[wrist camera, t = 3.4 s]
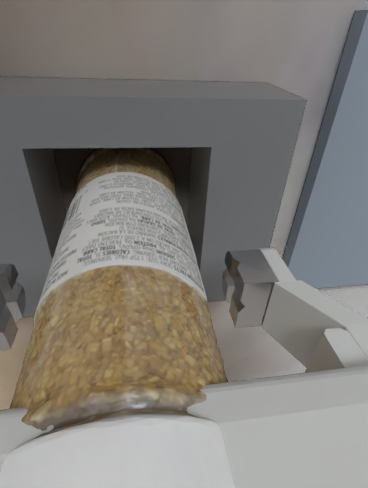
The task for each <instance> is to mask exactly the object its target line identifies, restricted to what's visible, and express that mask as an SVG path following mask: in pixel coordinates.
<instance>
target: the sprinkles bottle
mask: <svg viewBox="0 0 368 488" xmlns="http://www.w3.org/2000/svg"><path fill="white" fill-rule="evenodd" d="M76 185H77V192H76V195H75V197H74V198H73V200H72V202H71V204H70V206H69V209H68V212H67V215H66V218H65V221H64V224H63V228H62V231H61V234H60V237H59V240H58V244H57V247H56V250H55V253H54V257H53V260H52V263H51V266H50V270H49V273H48V276H47V279H46V282H45V285H44V288H43V291H42V294H41V297H40V300H39V303H38V306H37V309H36V313H35V317H34V329H33V332H32V336H31V341H30V345H29V347H28V349H27V351H26V354H25V358H24V361H23V367H22V370H21V373H20V376H19V379H18V382H17V385H16V390H15V393H14V397H13V400H12V403H11V406H10V409H12V408H20V407H26V408H27V409H28V411H27V413H26V414H25V415H24V417H23V418H22V420H21V421H22V422H23V423H25V424H26V425H30V426H33V427H35V428H36V429H41V431H44V430H47V427H49V426H50V425H54V427H53V429H52V430H51V431H50V432H46V433H42V434H40V435H39V436H37V437H35V438H33V439H31V440H29V441H27V442H25V443H23V444H21V445H20V446H18V447H16V448H15V449H13V450H11V451H10V452H8V454H7V455H6V457H5V460H4V463H3V466H2V469H1V472H0V488H235V485H234V481H233V477H232V473H231V469H230V465H229V461H228V457H227V453H226V449H225V444H224V440H223V436H222V432H221V429H220V426H219V424H218V423H217V422H216V421H213V420H210V419H205V418H200V417H196V416H194V415H191V414H189V413H188V412H187V407H189V406H192V405H194V404H198V403H202V402H204V401H206V394H204V393H203V392H202V391H200V389H201V388H203V387H205V386H206V385H210V384H218V383H226V382H228V380H227V378H226V375H225V371H224V366H223V360H222V358H221V355H220V350H219V347H218V346H217V341H216V337H215V333H214V330H213V325H212V320H211V315H210V312H209V309H208V307H207V297H206V293H205V289H204V286H203V282H202V279H201V275H200V271H199V268H198V265H197V259H196V255H195V252H194V248H193V245H192V242H191V238H190V235H189V232H188V228H187V225H186V221H185V218H184V215H183V211H182V209H181V206H180V204H179V202H178V200H177V197H176V189H175V182H174V178H173V175H172V172H171V170H170V169H169V167H168V166H167V164H166V163H165V161H164V160H163V159H162V157H161V156H160V155H158V154H157V153H155V152H153V151H152V150H151V149H149V148H100V149H98V150H97V151H95V152H94V153H92V154H91V155H90V156H89V157H88V158H87V159H86V161H85V162H84V164H83V166H82V167H81V169H80V172H79V174H78V177H77V182H76Z"/></svg>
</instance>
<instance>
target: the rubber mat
mask: <svg viewBox="0 0 368 488" xmlns="http://www.w3.org/2000/svg"><path fill="white" fill-rule="evenodd" d="M283 261H284V263H285V264H286V266H287V267H288V269H289V270H290V272H291V273H292V275H293V276H294V278H295V279H296V281H299V280H301V281H303V282H305V283H307V284H308V285H310V286H312V287H314V288H328V287H340V286H353V285H365V284H368V10H360V11H355V13H354V16H353V20H352V23H351V27H350V30H349V34H348V37H347V40H346V44H345V47H344V51H343V54H342V58H341V61H340V64H339V68H338V71H337V75H336V78H335V82H334V85H333V88H332V92H331V95H330V99H329V102H328V106H327V109H326V112H325V116H324V119H323V123H322V126H321V129H320V133H319V136H318V140H317V143H316V147H315V150H314V153H313V157H312V160H311V164H310V167H309V171H308V174H307V177H306V181H305V184H304V188H303V191H302V195H301V198H300V201H299V205H298V208H297V212H296V215H295V219H294V222H293V225H292V229H291V232H290V236H289V239H288V243H287V246H286V249H285V253H284V256H283Z"/></svg>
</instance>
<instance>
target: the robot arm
mask: <svg viewBox="0 0 368 488" xmlns="http://www.w3.org/2000/svg"><path fill="white" fill-rule="evenodd" d="M225 264H226V266H227V268H226V269H225V270H224V271H223V275H222V289H223V294H224V297H225V300H226V301H227V302H228V303H230V310H229V312H230V314H231V317H232V320H233V323H234V325H235V328H238V327H252V326H262V328H263V329H264V330H265V331H267V332H268V333H269V334H270V335H271V336H272V337H273V338H274V339H275V340H276V341H278V342H279V343H280V344H281V345H282V346H283V347H284V348H285V349H286V350H288V351H289V352H290V353H291V354H292V355H293V356H294V357H295V358H296V359H297V360H299V361H300V362H301V363H302V364H303V365H304V366H305V367H306V368H307V369H306V371H305V373H299V374H291V375H283V376H275V377H267V378H258V379H250V380H242V381H234V382H226V383H218V384H210V385H206V386H205V387H203V388H201V389H200V391H202V392H203V393H204V394H206V401H204V402H202V403H198V404H194V405H192V406H189V407H187V412H188V413H189V414H191V415H194V416H196V417H200V418H205V419H210V420H213V421H216V422H217V423H218V424H219V426H220V429H221V432H222V436H223V440H224V444H225V449H226V453H227V457H228V461H229V465H230V469H231V473H232V477H233V481H234V485H235V488H368V318H367V317H365V316H364V315H362V314H360V313H358V312H356V311H355V310H353V309H351V308H349V307H348V306H346V305H344V304H342V303H340V302H339V301H337V300H335V299H333V298H332V297H330V296H328V295H326V294H324V293H323V292H321V291H319V290H317V289H316V288H314V287H312V286H310V285H308V284H307V283H305V282H303V281H301V280H299V281H296V279H295V278H294V276H293V275H292V273H291V272H290V270H289V269H288V267H287V266H286V264H285V263H284V261H283V260H282V258H281V257H280V255H279V254H278V252H277V251H276V249H275V248H273V247H271V248H260V249H253V250H237V251H227V253H226V255H225ZM17 276H18V272H17V270H16V267H15V265H13V264H0V350H8V349H11V347H12V344H13V342H14V339H15V336H16V333H17V331H18V328H17V326H16V324H15V323H16V322H17V321H18V320H19V319H21V318H22V317H23V314H24V311H25V304H26V297H25V291H24V288H23V286H22V285H21V284H19V283H18V282H16V279H17ZM27 411H28V409H27V408H26V407H20V408H12V409H4V410H0V472H1V469H2V466H3V463H4V460H5V457H6V455H7V454H8V452H10V451H11V450H13V449H15V448H16V447H18V446H20V445H21V444H23V443H25V442H27V441H29V440H31V439H33V438H35V437H37V436H39V435H40V434H42V433H46V432H50V431H51V430H52V429H53V427H54V425H50V426H49V427H47V430H44V431H41V429H36V428H35V427H33V426H30V425H26V424H25V423H23V422H22V421H21V420H22V418H23V417H24V415H25V414H26V413H27Z"/></svg>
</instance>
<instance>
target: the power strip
mask: <svg viewBox="0 0 368 488" xmlns="http://www.w3.org/2000/svg"><path fill="white" fill-rule="evenodd" d="M306 101H307V100H306V99H304V98H301V97H299V96H297V95H294V94H292V93H290V92H288V91H285V90H283V89H281V88H278V87H276V86H274V85H271V84H269V83H261V82H218V81H174V80H131V79H88V78H45V77H2V76H0V264H13V265H15V267H16V270H17V272H18V276H17V279H16V282H18V283H19V284H21V285H22V286H23V288H24V291H25V297H26V304H25V311H24V314H23V317H32V316H35V313H36V309H37V306H38V303H39V300H40V297H41V294H42V291H43V288H44V285H45V282H46V279H47V276H48V273H49V270H50V266H51V263H52V260H53V257H54V253H55V250H56V247H57V244H58V240H59V237H60V234H61V231H62V228H63V224H64V221H65V218H66V210H65V205H64V201H63V196H62V191H61V187H60V182H59V177H58V173H57V168H56V163H55V158H54V154H53V149H52V148H160V147H192V160H191V177H190V195H189V213H188V232H189V235H190V238H191V242H192V245H193V248H194V252H195V255H196V259H197V265H198V268H199V271H200V275H201V279H202V282H203V286H204V289H205V293H206V297H207V302H214V301H226V300H225V297H224V294H223V289H222V275H223V271H224V270H225V269H226V268H227V266H226V264H225V255H226V253H227V251H237V250H253V249H260V248H270V244H271V240H272V236H273V232H274V228H275V224H276V220H277V216H278V212H279V208H280V204H281V200H282V196H283V192H284V188H285V184H286V180H287V176H288V172H289V168H290V164H291V161H292V157H293V153H294V149H295V145H296V141H297V137H298V133H299V129H300V125H301V121H302V117H303V113H304V109H305V105H306Z"/></svg>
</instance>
